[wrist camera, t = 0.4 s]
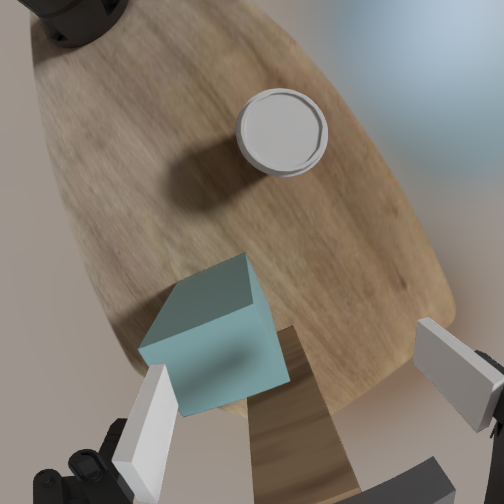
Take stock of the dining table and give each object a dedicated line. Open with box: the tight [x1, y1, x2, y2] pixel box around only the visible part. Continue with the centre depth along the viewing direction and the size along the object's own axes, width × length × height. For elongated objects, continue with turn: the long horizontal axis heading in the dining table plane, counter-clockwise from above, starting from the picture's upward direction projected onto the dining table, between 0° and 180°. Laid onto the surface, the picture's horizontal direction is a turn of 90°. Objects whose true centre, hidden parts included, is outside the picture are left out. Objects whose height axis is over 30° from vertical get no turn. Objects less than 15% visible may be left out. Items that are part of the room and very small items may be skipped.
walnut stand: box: [247, 326, 362, 504], centre depth 32 cm, size 6×8×30 cm
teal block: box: [138, 252, 290, 417], centre depth 35 cm, size 8×10×20 cm
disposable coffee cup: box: [236, 88, 328, 177], centre depth 35 cm, size 10×10×12 cm
